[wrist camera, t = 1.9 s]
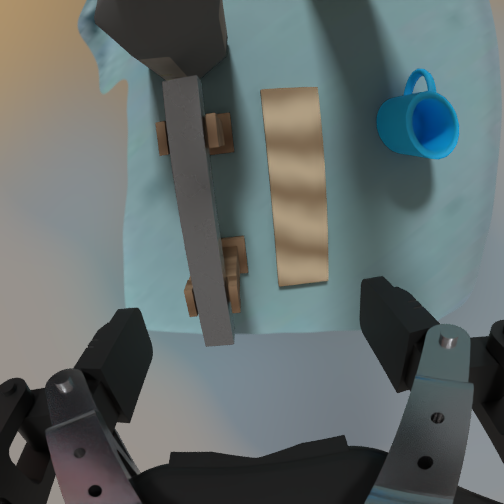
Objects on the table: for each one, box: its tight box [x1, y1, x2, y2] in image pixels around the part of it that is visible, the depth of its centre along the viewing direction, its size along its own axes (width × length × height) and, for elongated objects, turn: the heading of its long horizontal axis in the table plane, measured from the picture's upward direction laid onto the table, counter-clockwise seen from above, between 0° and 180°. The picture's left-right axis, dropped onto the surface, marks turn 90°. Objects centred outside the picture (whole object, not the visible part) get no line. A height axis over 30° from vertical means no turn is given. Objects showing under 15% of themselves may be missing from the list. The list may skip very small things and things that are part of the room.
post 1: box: [156, 113, 234, 156], centre depth 30 cm, size 5×7×12 cm
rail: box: [162, 75, 235, 346], centre depth 28 cm, size 26×3×3 cm, turn 6°
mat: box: [260, 87, 328, 287], centre depth 38 cm, size 26×7×1 cm, turn 6°
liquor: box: [94, 0, 228, 81], centre depth 18 cm, size 9×9×30 cm
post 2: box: [184, 236, 248, 317], centre depth 36 cm, size 5×7×12 cm
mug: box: [376, 69, 459, 159], centre depth 31 cm, size 12×8×8 cm
